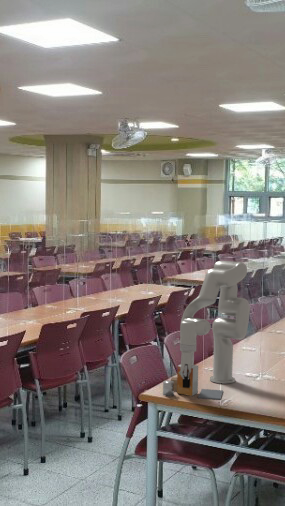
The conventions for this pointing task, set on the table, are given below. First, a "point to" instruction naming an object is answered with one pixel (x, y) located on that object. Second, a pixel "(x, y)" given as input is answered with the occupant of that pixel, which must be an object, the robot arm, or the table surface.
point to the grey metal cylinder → (168, 388)
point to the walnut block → (174, 382)
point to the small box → (193, 381)
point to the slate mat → (210, 394)
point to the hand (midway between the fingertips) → (187, 384)
